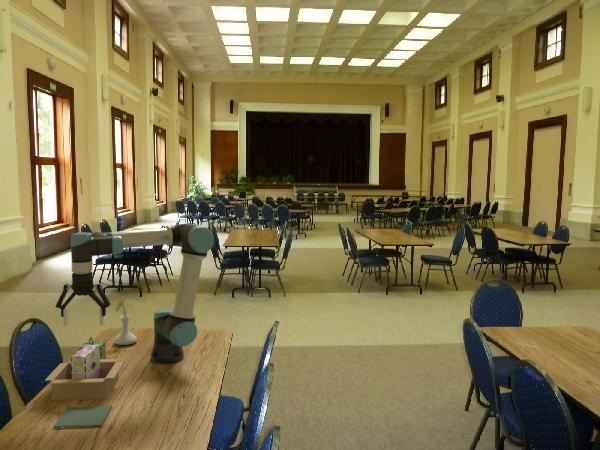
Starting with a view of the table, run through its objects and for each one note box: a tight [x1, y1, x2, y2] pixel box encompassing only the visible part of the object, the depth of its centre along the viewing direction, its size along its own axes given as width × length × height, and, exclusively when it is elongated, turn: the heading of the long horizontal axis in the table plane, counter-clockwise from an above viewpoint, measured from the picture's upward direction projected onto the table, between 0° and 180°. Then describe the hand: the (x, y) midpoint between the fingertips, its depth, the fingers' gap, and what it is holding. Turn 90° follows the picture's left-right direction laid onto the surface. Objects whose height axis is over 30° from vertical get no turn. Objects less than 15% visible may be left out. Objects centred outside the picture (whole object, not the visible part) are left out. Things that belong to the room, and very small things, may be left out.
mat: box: [52, 405, 113, 429], centre depth 181 cm, size 16×14×1 cm
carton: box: [44, 358, 125, 402], centre depth 204 cm, size 25×23×8 cm
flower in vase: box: [113, 296, 138, 346], centre depth 256 cm, size 13×11×25 cm
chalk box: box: [78, 336, 107, 359], centre depth 223 cm, size 9×9×15 cm
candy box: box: [70, 345, 101, 379], centre depth 203 cm, size 14×6×16 cm, turn 178°
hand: (83, 324), depth 201 cm, fingers open, 13 cm apart
